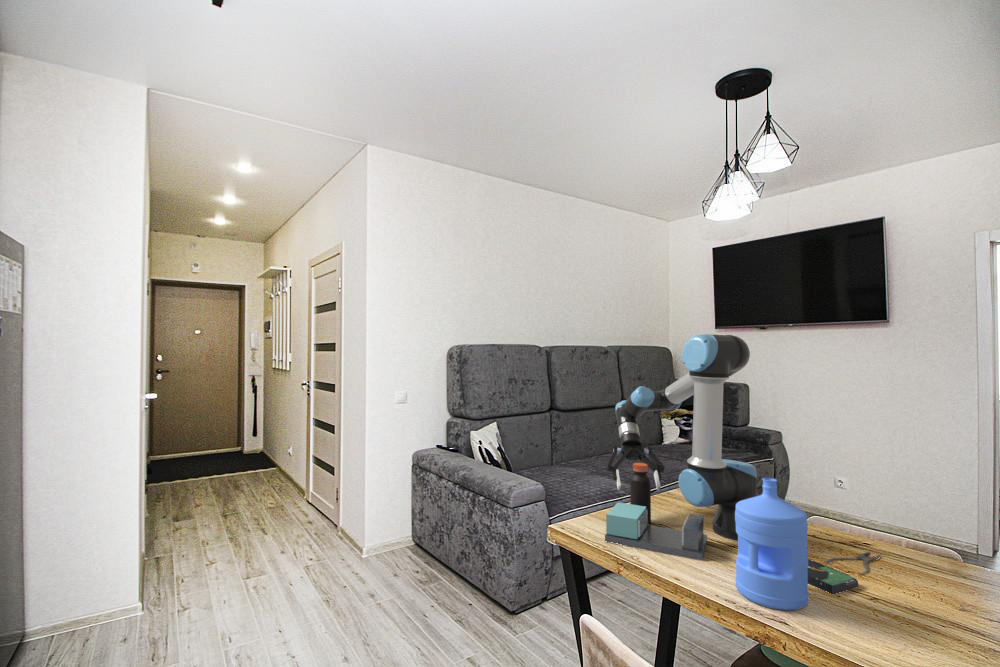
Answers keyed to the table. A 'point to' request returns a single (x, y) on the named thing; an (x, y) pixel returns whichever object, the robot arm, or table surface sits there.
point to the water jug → (772, 550)
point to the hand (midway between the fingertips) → (639, 488)
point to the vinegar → (641, 488)
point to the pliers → (859, 557)
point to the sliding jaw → (626, 520)
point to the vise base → (670, 539)
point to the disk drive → (829, 578)
